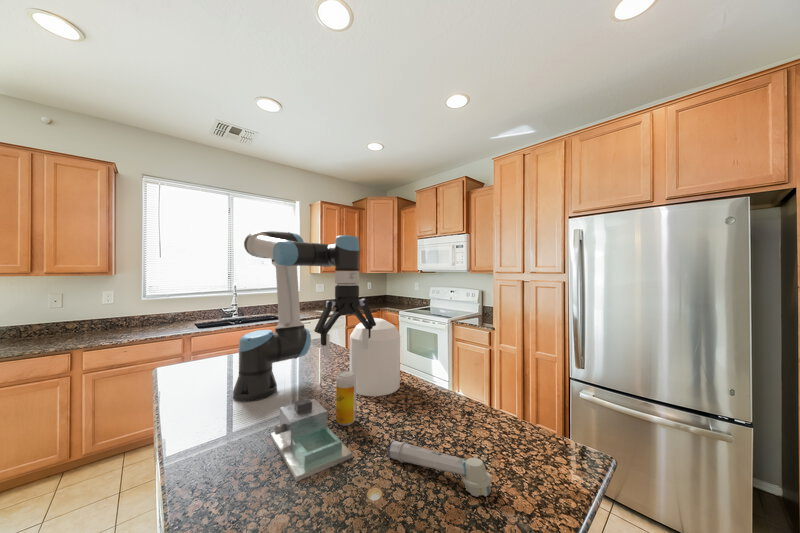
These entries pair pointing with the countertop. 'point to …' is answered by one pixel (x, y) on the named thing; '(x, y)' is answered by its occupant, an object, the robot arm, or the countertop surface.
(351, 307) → the robot arm
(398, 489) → the countertop surface
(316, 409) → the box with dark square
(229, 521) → the countertop surface
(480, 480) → the toothbrush head
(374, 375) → the container
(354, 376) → the soda can
